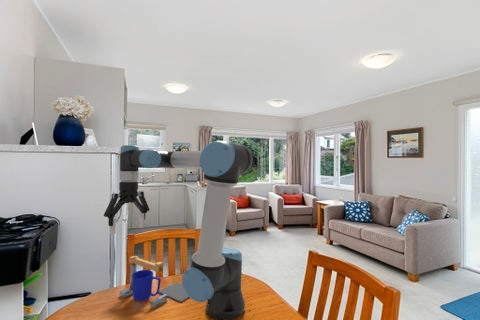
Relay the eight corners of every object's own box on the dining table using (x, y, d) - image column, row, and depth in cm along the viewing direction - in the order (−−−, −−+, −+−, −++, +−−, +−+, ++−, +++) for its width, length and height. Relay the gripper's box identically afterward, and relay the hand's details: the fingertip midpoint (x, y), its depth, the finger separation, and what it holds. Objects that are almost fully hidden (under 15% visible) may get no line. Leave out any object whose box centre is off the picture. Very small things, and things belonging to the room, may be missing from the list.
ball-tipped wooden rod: (164, 270, 105) (164, 262, 105) (156, 273, 102) (157, 265, 102) (134, 259, 115) (135, 252, 115) (127, 262, 112) (127, 254, 112)
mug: (154, 305, 102) (155, 280, 102) (126, 301, 105) (127, 276, 105) (164, 295, 110) (165, 272, 110) (138, 292, 113) (139, 268, 113)
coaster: (199, 292, 114) (199, 290, 114) (181, 302, 105) (181, 301, 105) (176, 283, 122) (176, 282, 122) (157, 292, 113) (157, 291, 113)
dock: (169, 299, 107) (170, 269, 107) (149, 310, 99) (151, 277, 99) (140, 286, 117) (141, 259, 118) (119, 296, 109) (120, 266, 109)
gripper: (147, 179, 125) (146, 224, 125) (95, 181, 104) (93, 235, 104) (157, 180, 121) (156, 226, 120) (105, 182, 100) (104, 238, 99)
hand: (127, 230), depth 112 cm, fingers open, 13 cm apart
